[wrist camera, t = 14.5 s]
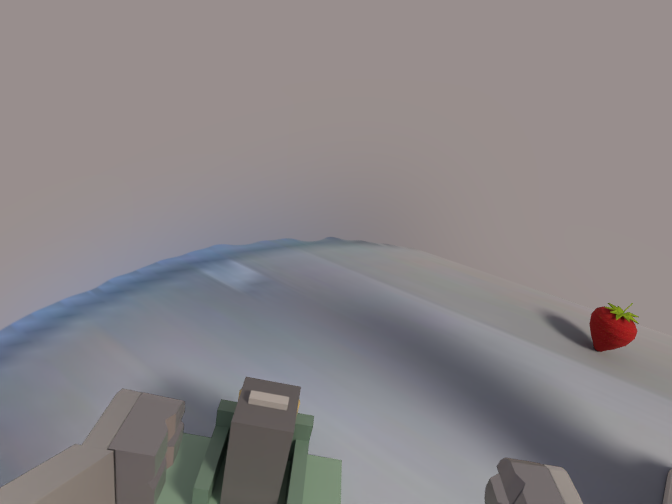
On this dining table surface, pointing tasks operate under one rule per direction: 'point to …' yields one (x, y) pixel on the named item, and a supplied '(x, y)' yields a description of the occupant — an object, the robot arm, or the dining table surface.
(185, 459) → the header board
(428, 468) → the dining table surface
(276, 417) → the plug block
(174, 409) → the robot arm
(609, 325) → the strawberry
